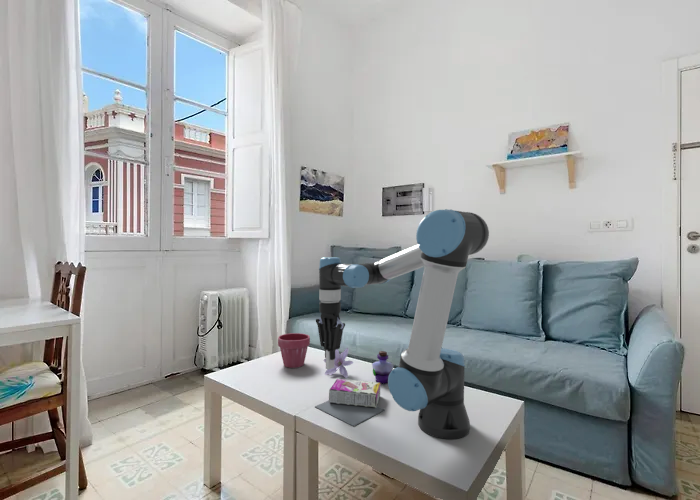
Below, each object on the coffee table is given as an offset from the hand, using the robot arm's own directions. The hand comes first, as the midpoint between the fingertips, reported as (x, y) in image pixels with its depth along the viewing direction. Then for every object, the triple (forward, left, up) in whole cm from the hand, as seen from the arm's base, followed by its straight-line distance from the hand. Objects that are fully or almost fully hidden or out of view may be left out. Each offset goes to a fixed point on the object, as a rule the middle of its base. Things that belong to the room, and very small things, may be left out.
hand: (330, 368), depth 126 cm
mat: (-10, 0, -11) cm, 15 cm away
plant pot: (+38, -13, -11) cm, 42 cm away
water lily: (+16, -19, -12) cm, 28 cm away
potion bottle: (-3, -26, -11) cm, 29 cm away
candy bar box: (0, -1, -8) cm, 8 cm away
